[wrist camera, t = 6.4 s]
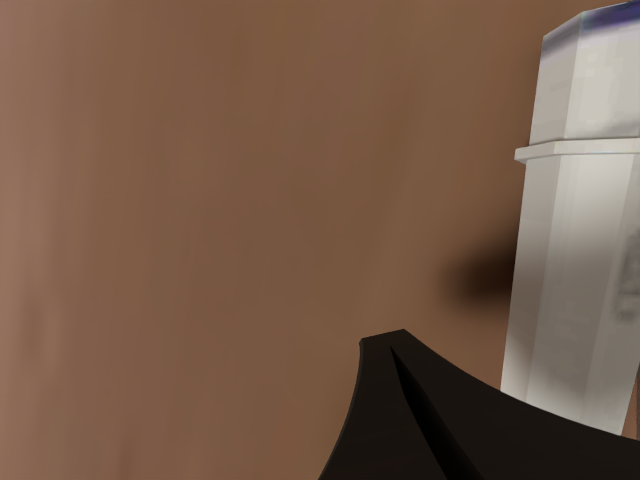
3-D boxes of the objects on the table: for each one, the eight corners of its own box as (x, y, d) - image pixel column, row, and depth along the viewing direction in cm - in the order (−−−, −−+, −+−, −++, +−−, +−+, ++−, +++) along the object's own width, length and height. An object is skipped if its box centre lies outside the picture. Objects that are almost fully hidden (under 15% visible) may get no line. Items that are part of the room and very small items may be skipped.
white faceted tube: (812, 1, 9) (628, 852, 12) (587, 84, 15) (508, 612, 18) (597, -23, 8) (467, 861, 11) (463, 73, 15) (404, 614, 18)
